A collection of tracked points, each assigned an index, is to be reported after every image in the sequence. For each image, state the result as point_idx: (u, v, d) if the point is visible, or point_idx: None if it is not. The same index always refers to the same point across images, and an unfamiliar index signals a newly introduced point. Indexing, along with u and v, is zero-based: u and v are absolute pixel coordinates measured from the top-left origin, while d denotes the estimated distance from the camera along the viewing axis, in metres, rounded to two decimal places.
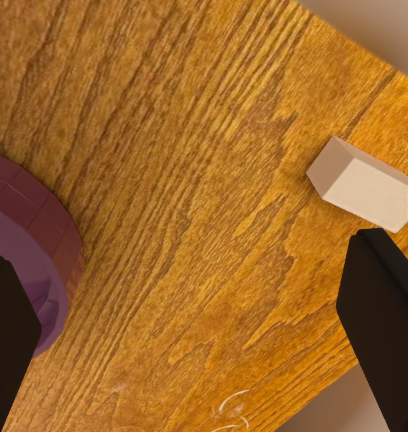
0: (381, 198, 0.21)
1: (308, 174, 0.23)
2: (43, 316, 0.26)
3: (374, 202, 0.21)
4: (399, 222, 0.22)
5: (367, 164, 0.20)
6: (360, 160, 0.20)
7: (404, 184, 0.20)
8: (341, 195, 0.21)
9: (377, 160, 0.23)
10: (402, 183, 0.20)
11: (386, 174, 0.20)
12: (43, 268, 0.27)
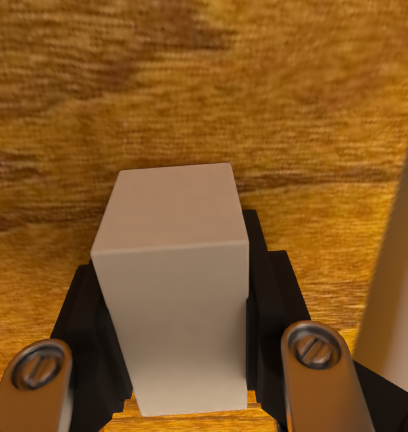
0: (189, 353, 0.08)
1: (121, 177, 0.09)
2: None
3: (173, 350, 0.08)
4: (167, 407, 0.10)
5: (247, 278, 0.07)
6: (247, 258, 0.07)
7: None
8: (137, 286, 0.07)
9: None
10: None
11: None
12: None
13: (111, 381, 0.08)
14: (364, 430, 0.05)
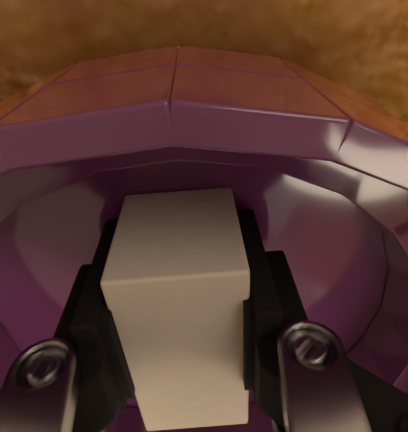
0: (193, 373, 0.09)
1: (127, 203, 0.09)
2: None
3: (177, 369, 0.09)
4: (171, 422, 0.10)
5: None
6: (248, 285, 0.07)
7: None
8: (144, 312, 0.07)
9: None
10: None
11: None
12: None
13: (114, 381, 0.08)
14: (361, 429, 0.05)
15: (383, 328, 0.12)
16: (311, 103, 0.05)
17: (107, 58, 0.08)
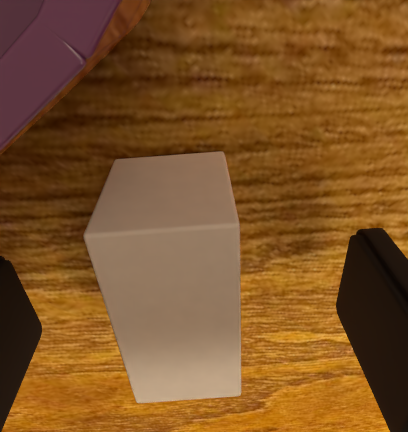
0: (183, 338, 0.08)
1: (116, 166, 0.09)
2: None
3: (167, 335, 0.08)
4: (161, 393, 0.10)
5: (238, 261, 0.07)
6: (238, 241, 0.07)
7: (239, 349, 0.09)
8: (130, 269, 0.07)
9: None
10: (239, 345, 0.09)
11: (239, 309, 0.08)
12: None
13: None
14: None
15: None
16: None
17: None
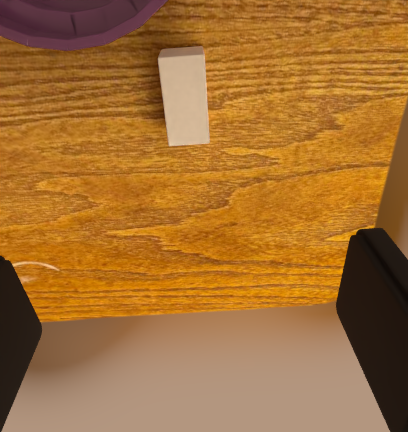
0: (187, 107, 0.24)
1: (162, 50, 0.25)
2: (41, 18, 0.21)
3: (181, 104, 0.24)
4: (178, 139, 0.25)
5: (205, 70, 0.23)
6: (204, 62, 0.22)
7: (207, 114, 0.24)
8: (171, 72, 0.23)
9: None
10: (207, 112, 0.24)
11: (206, 93, 0.23)
12: None
13: None
14: None
15: None
16: None
17: None
